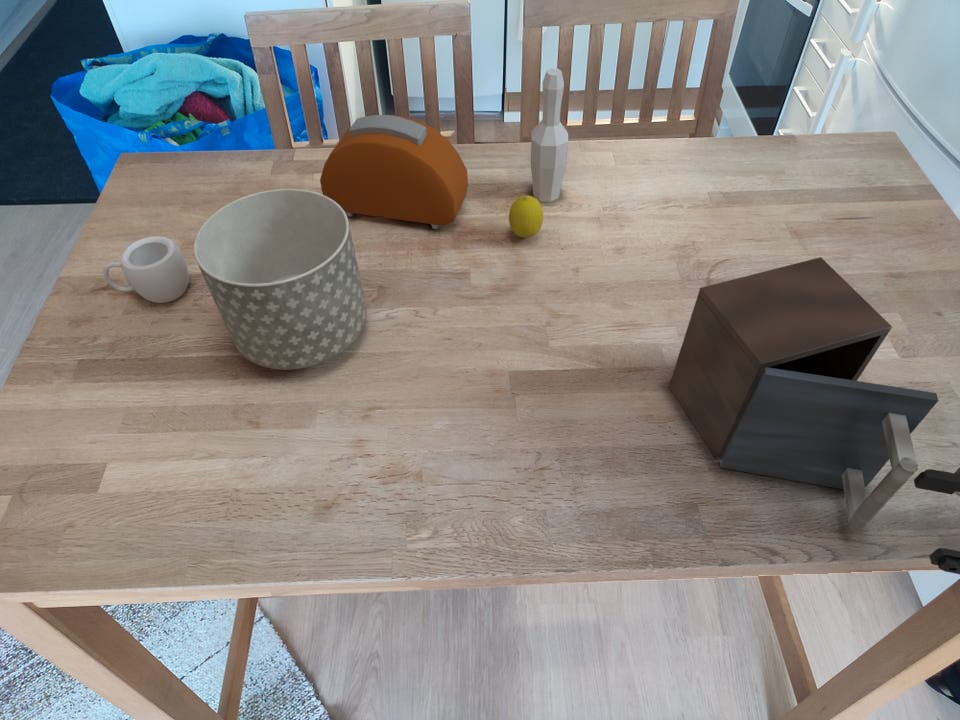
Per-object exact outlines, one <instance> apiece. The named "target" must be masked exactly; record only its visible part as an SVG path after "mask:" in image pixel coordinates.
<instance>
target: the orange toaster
mask: <svg viewBox="0 0 960 720" xmlns="http://www.w3.org/2000/svg"><path fill="white" fill-rule="evenodd" d="M463 161H464V160H463V159H462V157H461V155H460V153H459V152H458V151H457V149H456V148H455V147H454V146H453V144H452V143H451V142H450V140H449V139H448V138H447V137H445V136H444V135H442V133H440V132H438V130H437V129H435V128H433V127H431V126H429V125H428V124H426V123H424V122H423V121H421V120H418V119H414V118H409V117H407V116H406V117H405V116H402V115H398V114H397V115H396V114H375V115H374V114H373V115H366V116H360V117H357V118H356V119H355V120H354V122H353V124H352V125H351V126H350V127H349V128H348V129H347V130H346V131H345V132H344V134H343V135H342V137H341V138H340V140H339V141H338V142H337V144H336V145H335V146H334V148H333V149H332V151H331V152H330V153H329V155H328V157H327V159H326V160H325V162H324V164H323V167H322V170H321V171H322V172H321V174H320V178H319V183H320V187H321V193H322V195H324V196H326V197H329V198H330V199H332V200H334V201H335V202H336V203H337V204H339V205H340V206H341V207H342V209H343V210H344V212H345V213H346V215H347V217H353V216H354V215H355V214H356V215H357V214H358V215H365V216H372V217H378V218H386V219H393V220H400V221H406V222H413V223H421V224H427V225H431V228H432V229H434V230H438V228H439V226H444V227H446V226H448V225H450V224H453V223H454V222H455V221H456V218H457V216H458V214H459V212H460V210H461V207H462V205H463V203H464V201H465V199H466V196H467V193H468V189H469V177H468V169H467V167H466V164H465V163H464V162H463Z"/></svg>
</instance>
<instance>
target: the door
mask: <svg viewBox="0 0 960 720" xmlns="http://www.w3.org/2000/svg"><path fill="white" fill-rule="evenodd" d="M938 402H939V397H938V394H937V393H936V392H932V391H926V390H921V389H920V390H919V389H913V388H907V387H899V386H893V385H886V384H879V383H873V382H866V381H859V380H857V381H854V380H847V379H841V378H834V377H827V376H821V375H814V374H808V373H801V372H794V371H788V370H781V369H775V368H768V367H765V369H764V371H763V373H762V375H761V377H760V379H759V381H758V383H757V385H756V387H755V389H754V391H753V394H752V396H751V398H750V400H749V402H748V404H747V406H746V408H745V410H744V412H743V414H742V416H741V419H740V421H739V423H738V425H737V427H736V429H735V431H734V433H733V435H732V437H731V439H730V441H729V444H728V446H727V448H726V450H725V452H724V454H723V456H722V458H720V460H719V466H720V467H719V468H720V469H726V470H733V471H738V472H742V473H743V472H744V473H748V474H755V475H760V476H766V477H772V478H778V479H783V480H789V481H794V482H800V483H805V484H812V485H818V486H822V487H829V488H833V489H840V490H843V493H844V494H843V495H844V500H845V507H846V513H847V519H848V520H847V521H848V524H849V526H850V527H851V528H852V529H854V530H856V531H861V530H863V529H865V527H866V526H867V525H868V524H869V523H870V521H872V519H874V518H875V516H876V515H877V514H878V513H879V512H880V511H881V510H882V509H883V508H884V507H885V505H886V504H887V503H888V502H889V501H890V500H891V499H892V498H893V497H894V495H895V494H897V492H898V491H899V490H900V489H901V488H902V487H903V486H904V485H905V484H906V483H907V482H908V481H909V479H911V477H912V476H913V475H914V474H915V473H916V472H917V471H918V468H919V466H918V462H917V457H916V453H915V449H914V444H913V439H912V436H911V434H912V433H913V432H914V431H915V430H916V429H917V427H918V426H919V425H920V424H921V422H922V421H923V420H924V419H925V418H926V416H927V415H928V414H929V413H930V412H931V411H932V409H933V408H934V407H935V406H936V405H937V403H938ZM888 462H889V463H890V467H891V469H890V470H889V471H888V472H887V474H886V475H885V476H884V477H883V478H882V479H881V481H879V483H878V484H877V485H876V486H875V488H873V490H872V491H871V492H870V493H869V495H867V492H866V488H867V487H868V486H869V485H870V483H871V482H872V480H874V478H875V477H876V476H877V475H878V474H879V472H880V471H881V470H882V469H883V467H884V466H885V465H886V464H887V463H888Z"/></svg>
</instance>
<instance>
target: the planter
mask: <svg viewBox="0 0 960 720" xmlns="http://www.w3.org/2000/svg"><path fill="white" fill-rule="evenodd" d="M193 256H194V259H195V262H196V264H197V266H198V268H199V271H200V273H201V275H202V277H203V279H204V281H205V284H206V286H207V288H208V290H209V292H210V295H211V297H212V300H213V301H214V303H215V307H216V308H217V310H218V313H219V315H220V317H221V319H222V321H223V323H224V326H225V328H226V331H227V333H228V335H229V337H230V339H231V342H232V343H233V345H234V347H235V348H236V350H237V351H238V353H239V354H240V355H241V356H242V357H243V358H245V359H246V360H248V362H251V363H253V364H255V365H257V366H259V367H263V368H267V369H272V370H273V369H274V370H281V371H282V370H286V371H287V370H289V371H290V370H300V369H305V368H310V367H314V366H316V365H320V364H322V363H325V362H327V361H329V360H331V359H333V358H335V357H337V356H338V355H340V354H341V353H343V352H344V351H346V350H347V349H348V348H349V347H350V346H351V345H352V344H353V343H354V342H355V341H356V340H357V338H358V337H359V336H360V335H361V333H362V331H363V329H364V326H365V324H366V319H367V313H368V311H367V310H368V309H367V304H366V298H365V294H364V289H363V285H362V279H361V274H360V270H359V265H358V261H357V255H356V251H355V246H354V241H353V235H352V231H351V227H350V222H349V218H348V216H347V214H346V212H344V210H343V209H342V207H341V206H340V205H339V204H337V203H336V202H335V201H334V200H332V199H330V198H329V197H326V196H324V195H323V194H321V193H319V192H316V191H312V190H309V189H308V190H307V189H299V188H277V189H268V190H262V191H258V192H254V193H251V194H248V195H244V196H243V197H240V198H238V199H237V198H236V199H235V200H233V201H231V202H229V203H227V204H225V205H224V206H222V207H221V208H219V209H217V210H216V211H215V212H214V213H212V214H211V215H209V217H208V218H207V219H206V220H205V221H204V223H203V224H202V225H201V226H200V228H199V229H198V231H197V232H196V235H195V237H194V240H193Z"/></svg>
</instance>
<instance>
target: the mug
mask: <svg viewBox="0 0 960 720" xmlns="http://www.w3.org/2000/svg"><path fill="white" fill-rule="evenodd" d="M112 268H121V270H122V273H123V275H124V277H125V278H126V280H127V282H128V283H129V285H130V286H122V285H119V284H117V283H116V282H115V281H113V279H112V278H111V276H110V269H112ZM102 272H103V277H104V280H105V281H106V283H107V284H108V285H109V286H110V287H111V288H113V289H115V290H117V291H120V292H132V291H134V292H136V293H137V294H139V295H140V296H141V297H142V298H144V299H145V300H147V301H148V302H152V303H155V304H156V303H157V304H167V303H169V302H173V301H175V300H177V299H179V298H180V297H181V296H183V294H184V293H185V292H186V290H187V288H188V286H189V279H190V277H189V269H188V265H187V262H186V260H185V257H184V255H183V253H182V251H181V250H180V248H179V247H178V246H177V244H176V243H175V242H173V241H172V240H171V239H169V238H167V237H164V236H157V235H155V236H154V235H153V236H148V237H143V238H140V239H138V240H135V241H134V242H132V243H131V244H129V245H127V247H125V249H123V251H122V252H121V255H120V261H112V262H109V263H107V264H106V265H105V266H104V267H103V271H102Z"/></svg>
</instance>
